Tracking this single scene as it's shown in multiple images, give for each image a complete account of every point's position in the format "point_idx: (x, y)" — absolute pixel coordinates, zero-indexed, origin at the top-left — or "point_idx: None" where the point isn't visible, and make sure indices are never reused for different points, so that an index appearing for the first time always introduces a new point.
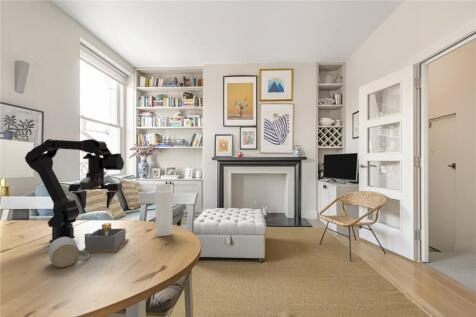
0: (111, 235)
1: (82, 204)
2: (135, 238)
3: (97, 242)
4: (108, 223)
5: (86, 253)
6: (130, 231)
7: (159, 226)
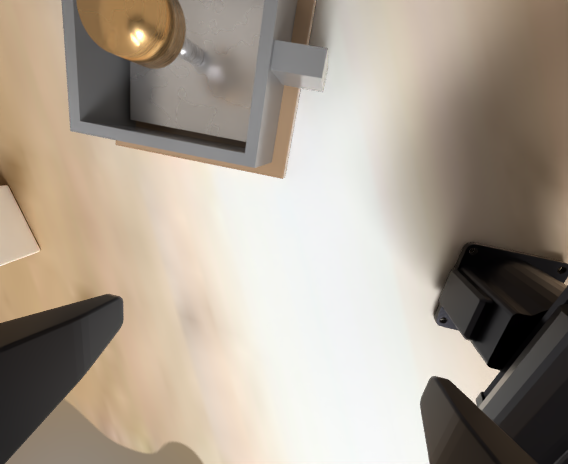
0: (184, 137)
1: (490, 431)
2: (109, 191)
3: None
4: (113, 43)
5: None
6: (170, 323)
7: None
